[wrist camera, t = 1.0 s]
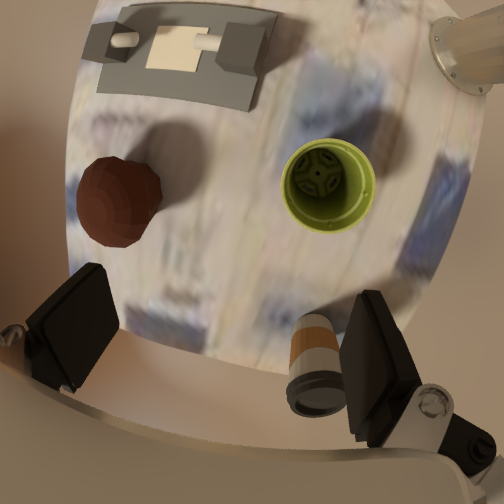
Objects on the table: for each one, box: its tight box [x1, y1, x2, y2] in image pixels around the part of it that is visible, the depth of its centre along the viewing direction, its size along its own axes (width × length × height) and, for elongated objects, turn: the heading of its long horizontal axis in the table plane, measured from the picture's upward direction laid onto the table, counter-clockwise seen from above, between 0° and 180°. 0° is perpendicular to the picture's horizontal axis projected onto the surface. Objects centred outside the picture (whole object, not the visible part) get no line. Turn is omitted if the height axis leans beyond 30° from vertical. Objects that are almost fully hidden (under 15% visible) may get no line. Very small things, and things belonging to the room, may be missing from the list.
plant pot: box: [281, 138, 376, 234], centre depth 28 cm, size 9×9×9 cm
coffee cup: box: [286, 314, 346, 418], centre depth 36 cm, size 8×8×15 cm
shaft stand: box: [81, 4, 277, 112], centre depth 24 cm, size 14×22×6 cm, turn 75°
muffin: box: [77, 156, 163, 248], centre depth 31 cm, size 12×11×10 cm
